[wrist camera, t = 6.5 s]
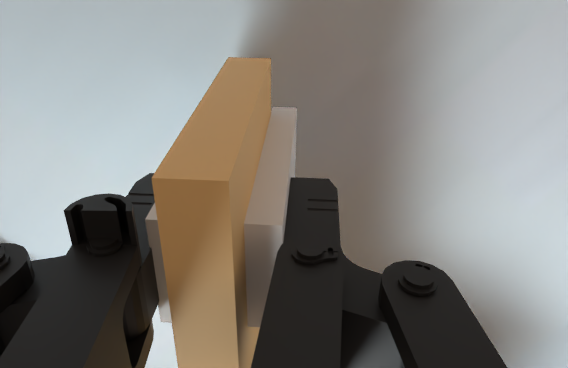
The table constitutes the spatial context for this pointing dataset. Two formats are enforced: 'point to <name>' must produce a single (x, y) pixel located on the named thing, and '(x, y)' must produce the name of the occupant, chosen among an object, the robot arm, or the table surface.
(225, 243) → the ticket
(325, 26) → the table surface
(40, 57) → the table surface
